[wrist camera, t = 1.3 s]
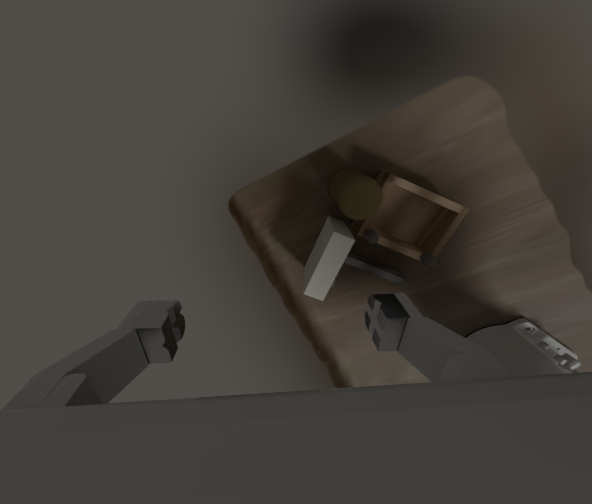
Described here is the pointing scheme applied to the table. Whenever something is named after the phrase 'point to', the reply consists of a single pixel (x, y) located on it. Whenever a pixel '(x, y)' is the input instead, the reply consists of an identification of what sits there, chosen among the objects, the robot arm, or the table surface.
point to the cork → (355, 193)
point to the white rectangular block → (327, 258)
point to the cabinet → (407, 225)
